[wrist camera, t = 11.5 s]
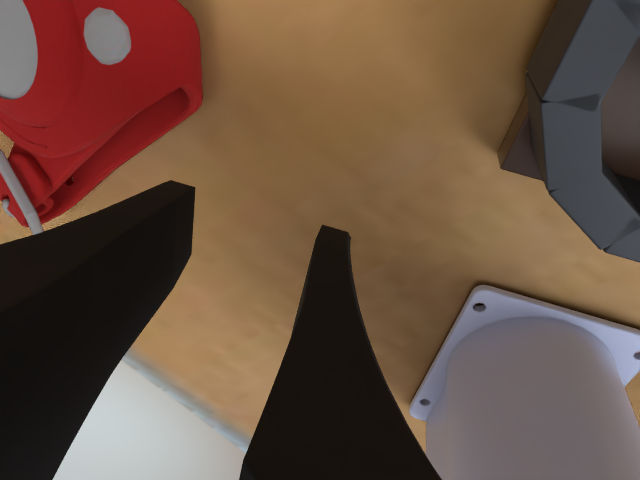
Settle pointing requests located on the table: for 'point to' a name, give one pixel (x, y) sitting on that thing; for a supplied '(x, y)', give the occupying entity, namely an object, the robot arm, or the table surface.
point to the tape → (584, 117)
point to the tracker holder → (87, 93)
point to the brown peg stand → (617, 128)
